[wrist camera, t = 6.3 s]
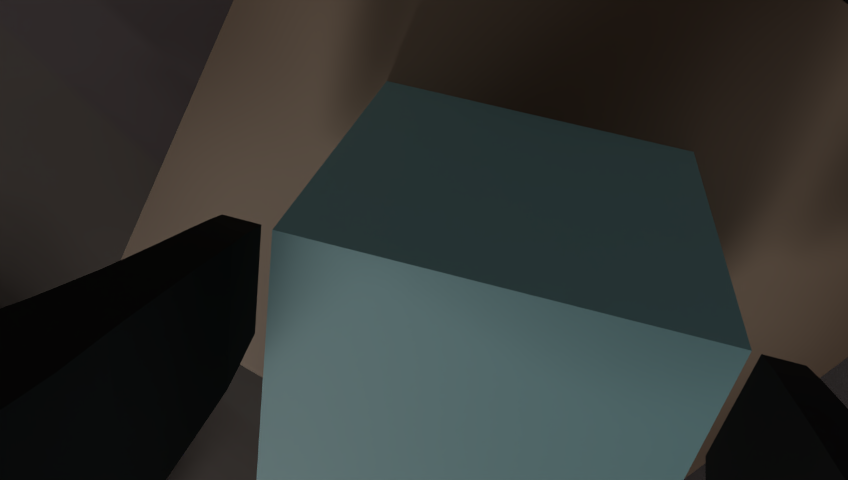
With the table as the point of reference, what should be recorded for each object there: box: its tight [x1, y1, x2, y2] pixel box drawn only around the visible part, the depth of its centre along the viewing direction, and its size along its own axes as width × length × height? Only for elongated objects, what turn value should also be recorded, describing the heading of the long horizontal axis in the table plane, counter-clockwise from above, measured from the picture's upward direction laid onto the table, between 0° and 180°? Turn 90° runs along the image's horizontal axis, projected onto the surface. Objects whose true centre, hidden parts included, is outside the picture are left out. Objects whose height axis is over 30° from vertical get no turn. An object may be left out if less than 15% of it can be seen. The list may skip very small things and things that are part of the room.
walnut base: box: [121, 0, 848, 479], centre depth 14 cm, size 12×12×2 cm
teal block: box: [257, 81, 752, 480], centre depth 11 cm, size 5×5×5 cm
